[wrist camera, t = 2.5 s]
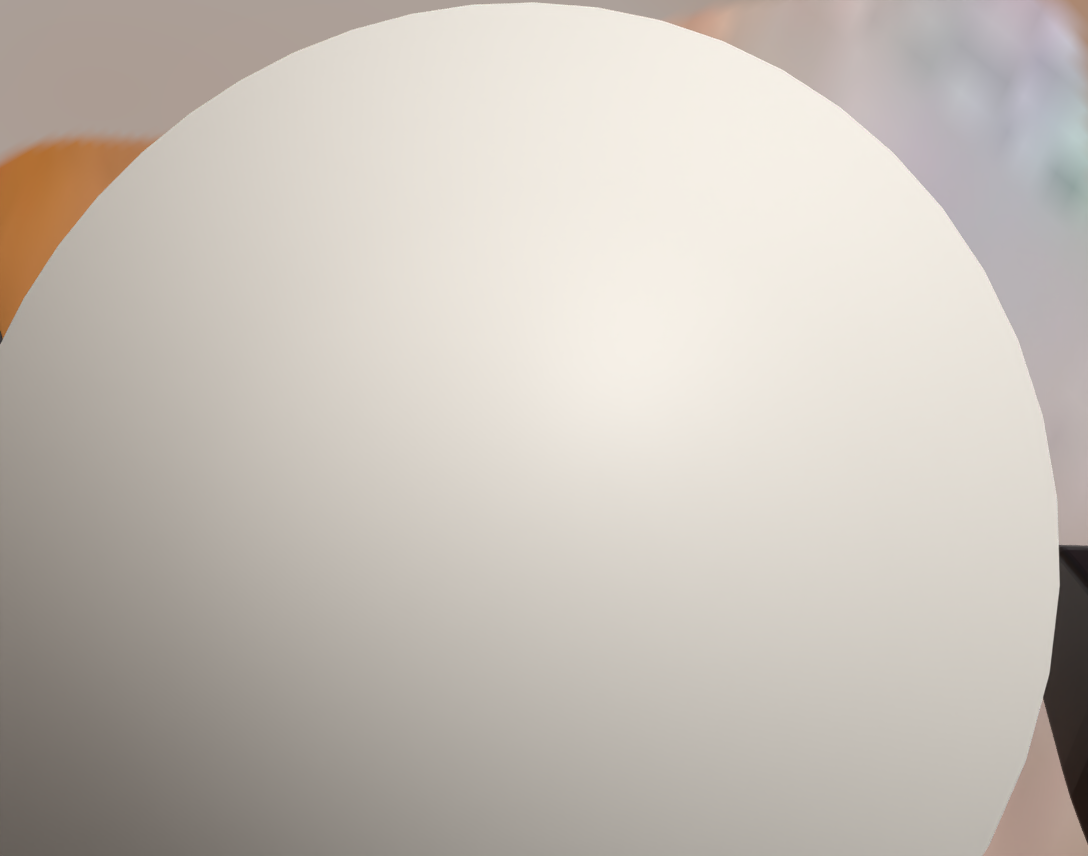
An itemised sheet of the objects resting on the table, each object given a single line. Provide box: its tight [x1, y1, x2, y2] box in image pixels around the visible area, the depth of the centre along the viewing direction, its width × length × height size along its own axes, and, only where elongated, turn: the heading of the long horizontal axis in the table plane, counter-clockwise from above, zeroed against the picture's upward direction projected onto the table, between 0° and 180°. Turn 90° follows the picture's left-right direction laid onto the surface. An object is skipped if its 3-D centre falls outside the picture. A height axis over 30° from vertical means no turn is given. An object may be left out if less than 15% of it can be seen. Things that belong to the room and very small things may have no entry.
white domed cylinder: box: [0, 3, 1060, 856], centre depth 10 cm, size 6×6×12 cm
